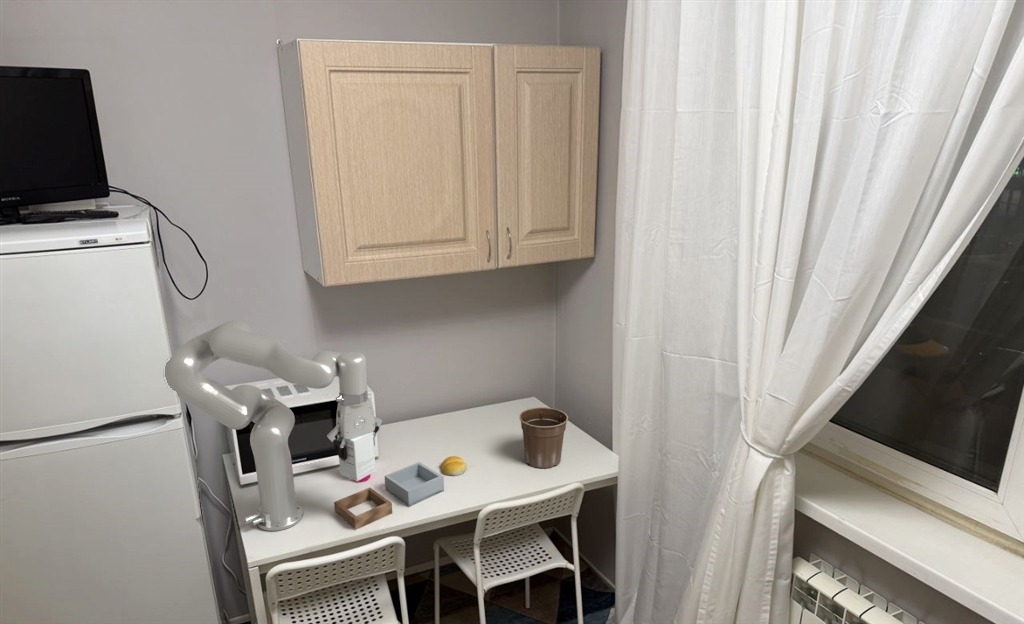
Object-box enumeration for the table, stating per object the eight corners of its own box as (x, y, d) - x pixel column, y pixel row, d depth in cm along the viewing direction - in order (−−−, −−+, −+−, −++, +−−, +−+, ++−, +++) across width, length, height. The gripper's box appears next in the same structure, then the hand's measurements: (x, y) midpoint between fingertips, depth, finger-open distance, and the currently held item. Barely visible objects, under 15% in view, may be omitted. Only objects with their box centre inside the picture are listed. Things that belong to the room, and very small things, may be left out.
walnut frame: (355, 529, 179) (354, 518, 178) (334, 512, 187) (333, 502, 186) (392, 513, 187) (391, 502, 186) (370, 497, 195) (370, 487, 194)
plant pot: (565, 449, 225) (566, 406, 221) (569, 471, 209) (569, 426, 205) (519, 449, 225) (519, 406, 221) (519, 472, 209) (519, 426, 205)
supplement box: (359, 464, 189) (356, 425, 186) (376, 471, 185) (374, 431, 181) (339, 474, 183) (336, 434, 180) (356, 482, 179) (353, 440, 176)
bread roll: (444, 478, 206) (443, 467, 205) (440, 465, 215) (439, 455, 214) (469, 475, 208) (469, 463, 207) (464, 462, 217) (463, 451, 216)
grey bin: (409, 506, 190) (408, 491, 189) (385, 490, 199) (384, 475, 198) (444, 490, 198) (443, 476, 197) (419, 475, 208) (419, 461, 206)
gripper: (331, 408, 169) (335, 468, 174) (388, 392, 181) (390, 449, 185) (318, 400, 175) (322, 458, 179) (374, 385, 186) (376, 440, 191)
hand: (356, 453), depth 182 cm, fingers closed on supplement box, 8 cm apart
